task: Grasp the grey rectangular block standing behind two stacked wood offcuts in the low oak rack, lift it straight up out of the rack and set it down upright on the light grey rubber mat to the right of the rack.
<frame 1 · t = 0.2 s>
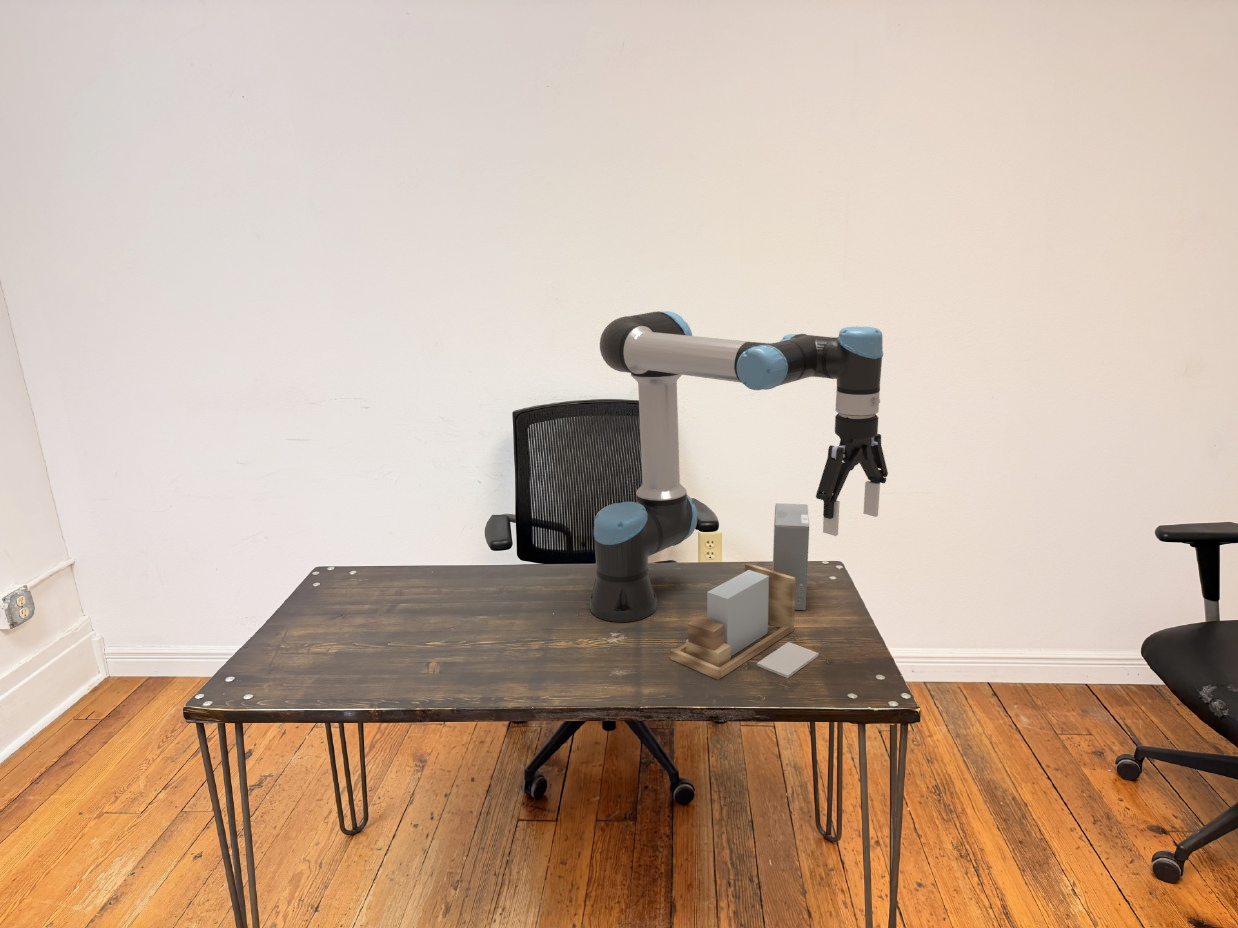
hand: (851, 524, 154), 28 cm above the table, fingers open, 13 cm apart
offcut upper: (706, 642, 161), point 4 cm above the table
rack: (733, 643, 168), on the table
grey rectangular block: (738, 641, 169), resting in rack
hard drive box: (788, 596, 189), on the table
offcut lower: (708, 661, 162), resting in rack
mat: (787, 660, 161), on the table
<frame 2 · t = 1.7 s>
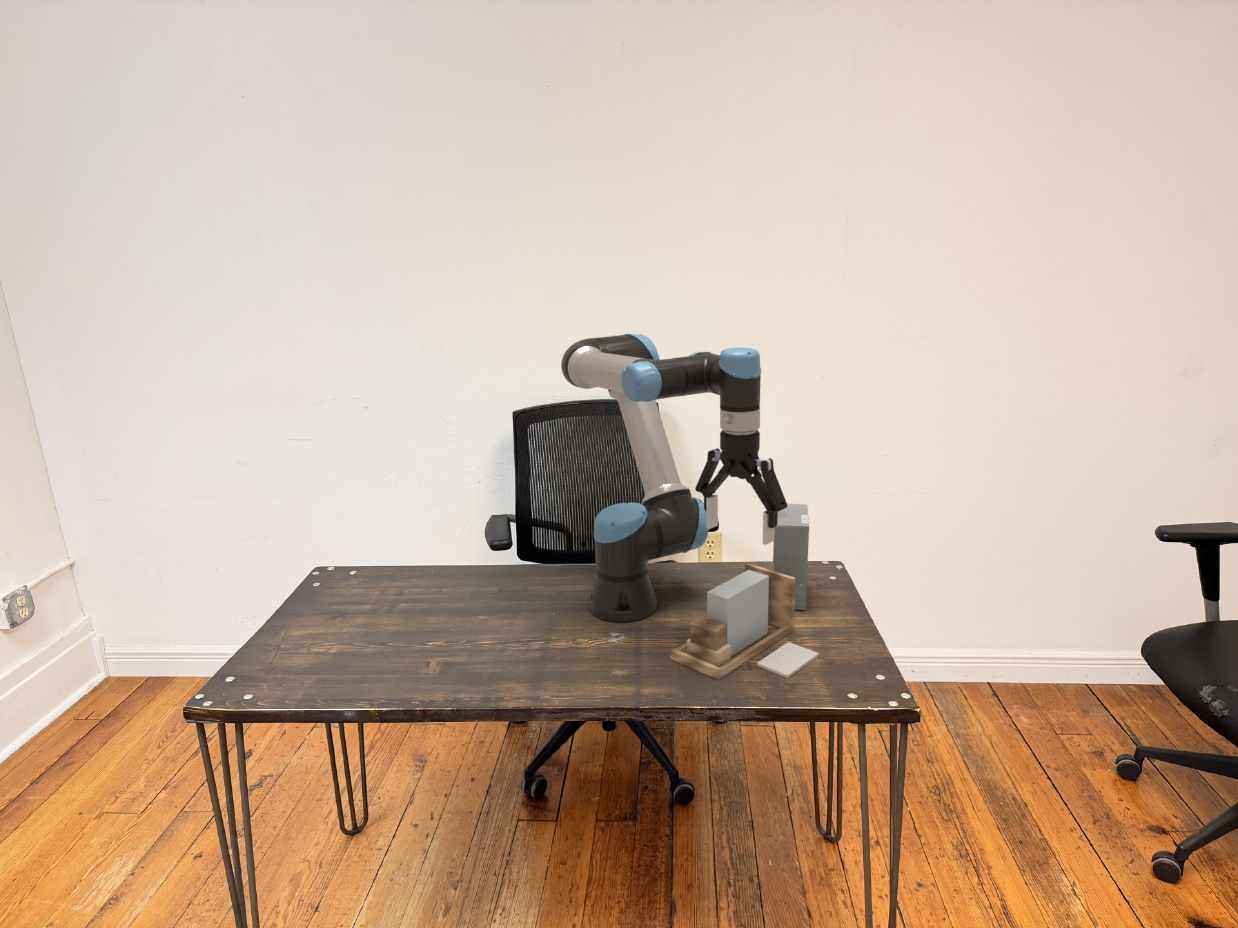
hand: (739, 534, 162), 24 cm above the table, fingers open, 13 cm apart
nothing on the table moved.
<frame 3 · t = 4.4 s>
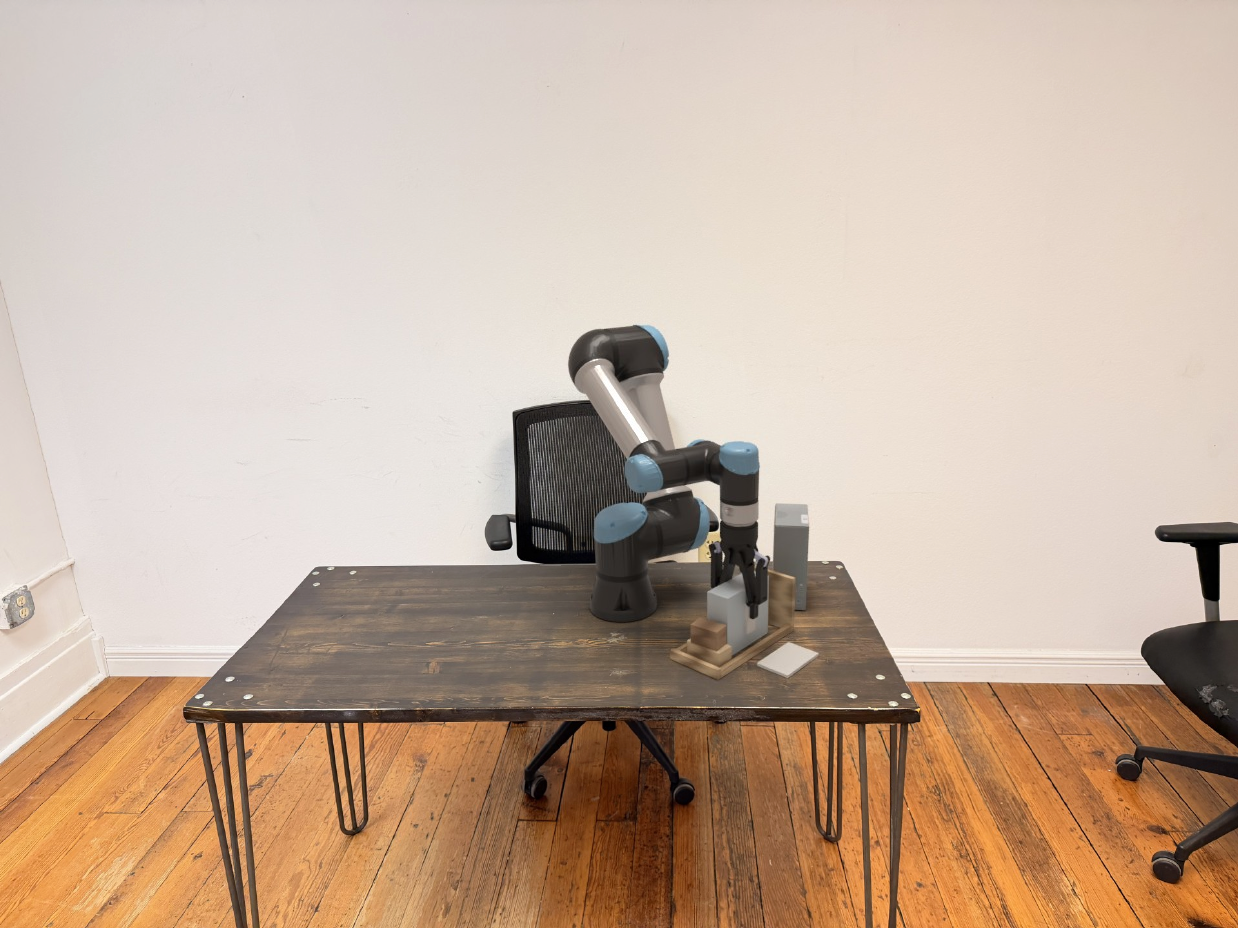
hand: (738, 626, 168), 3 cm above the table, fingers closed on grey rectangular block, 5 cm apart
offcut upper: (708, 643, 161), point 4 cm above the table, touching offcut lower
grey rectangular block: (738, 641, 169), resting in rack, touching gripper
offcut lower: (709, 661, 162), resting in rack, touching offcut upper
everything else where it was.
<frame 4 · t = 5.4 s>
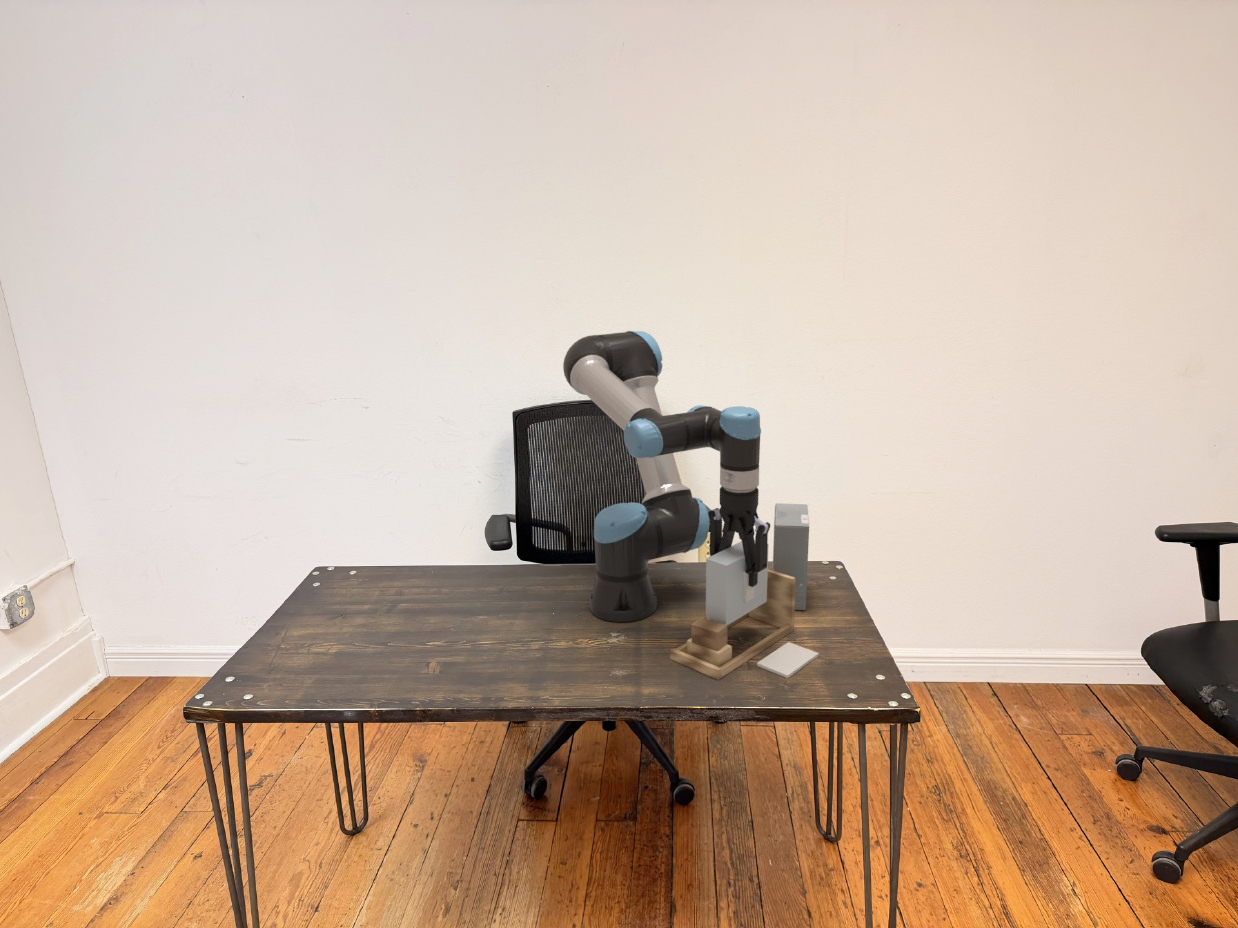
hand: (737, 594, 166), 10 cm above the table, fingers closed on grey rectangular block, 5 cm apart
grey rectangular block: (736, 609, 167), point 7 cm above the table, touching gripper
everything else where it was.
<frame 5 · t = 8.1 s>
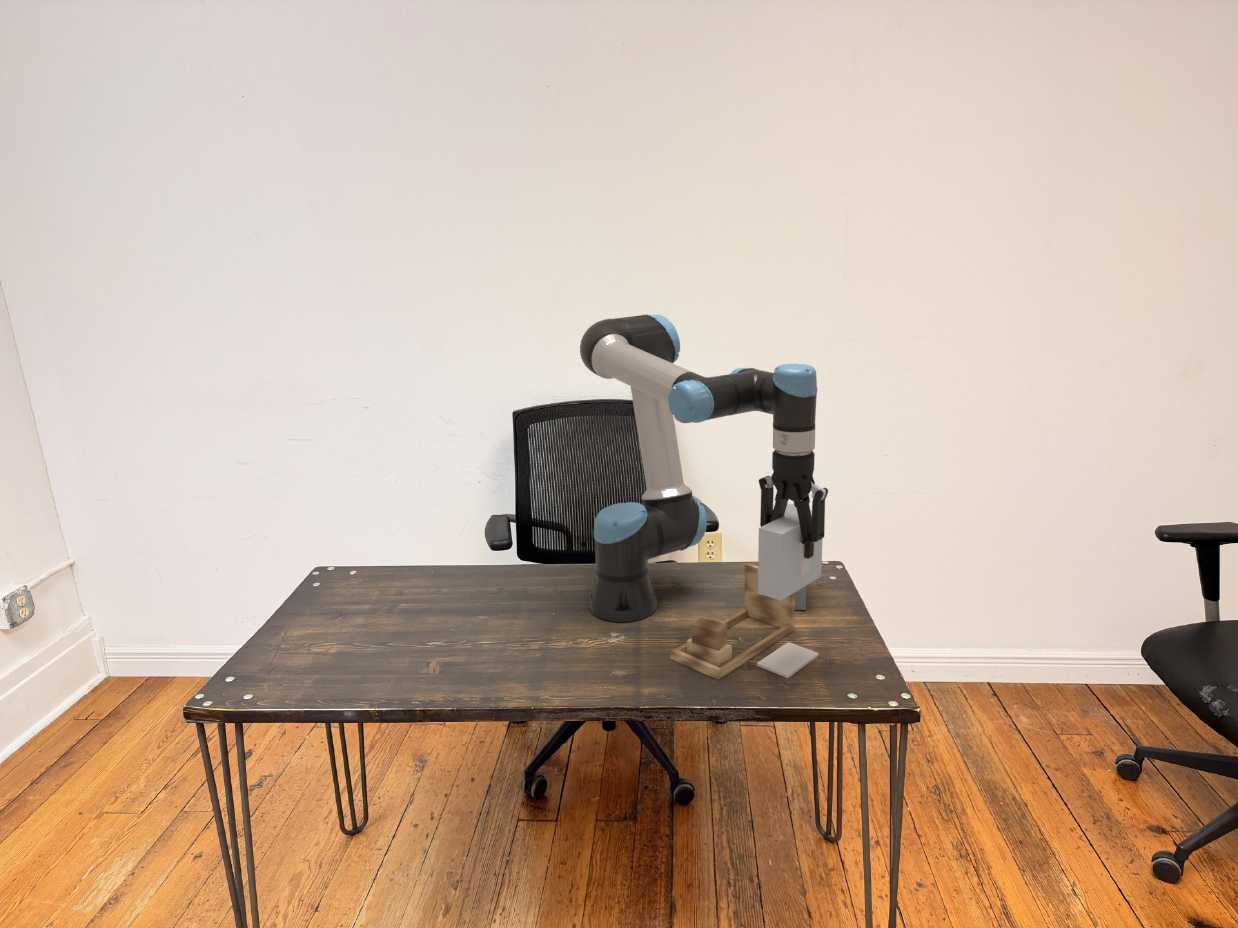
hand: (790, 568, 155), 20 cm above the table, fingers closed on grey rectangular block, 5 cm apart
grey rectangular block: (790, 584, 156), point 16 cm above the table, touching gripper
everything else where it was.
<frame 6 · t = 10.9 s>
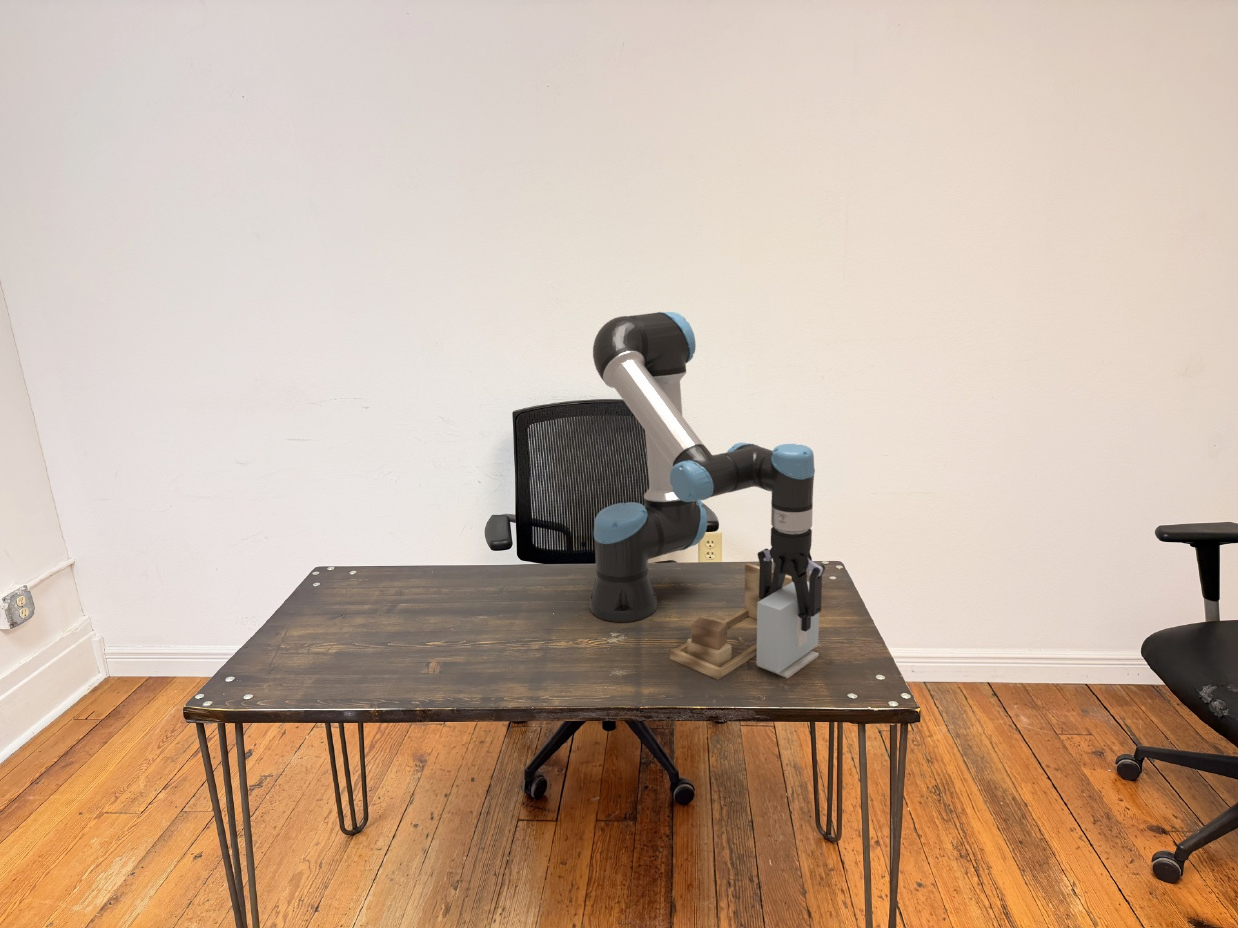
hand: (788, 639, 159), 5 cm above the table, fingers closed on grey rectangular block, 5 cm apart
grey rectangular block: (787, 654, 160), point 1 cm above the table, touching gripper
everything else where it was.
when the fingers open (5 cm above the table, at t = 11.3 s): grey rectangular block stays where it is, resting on mat.
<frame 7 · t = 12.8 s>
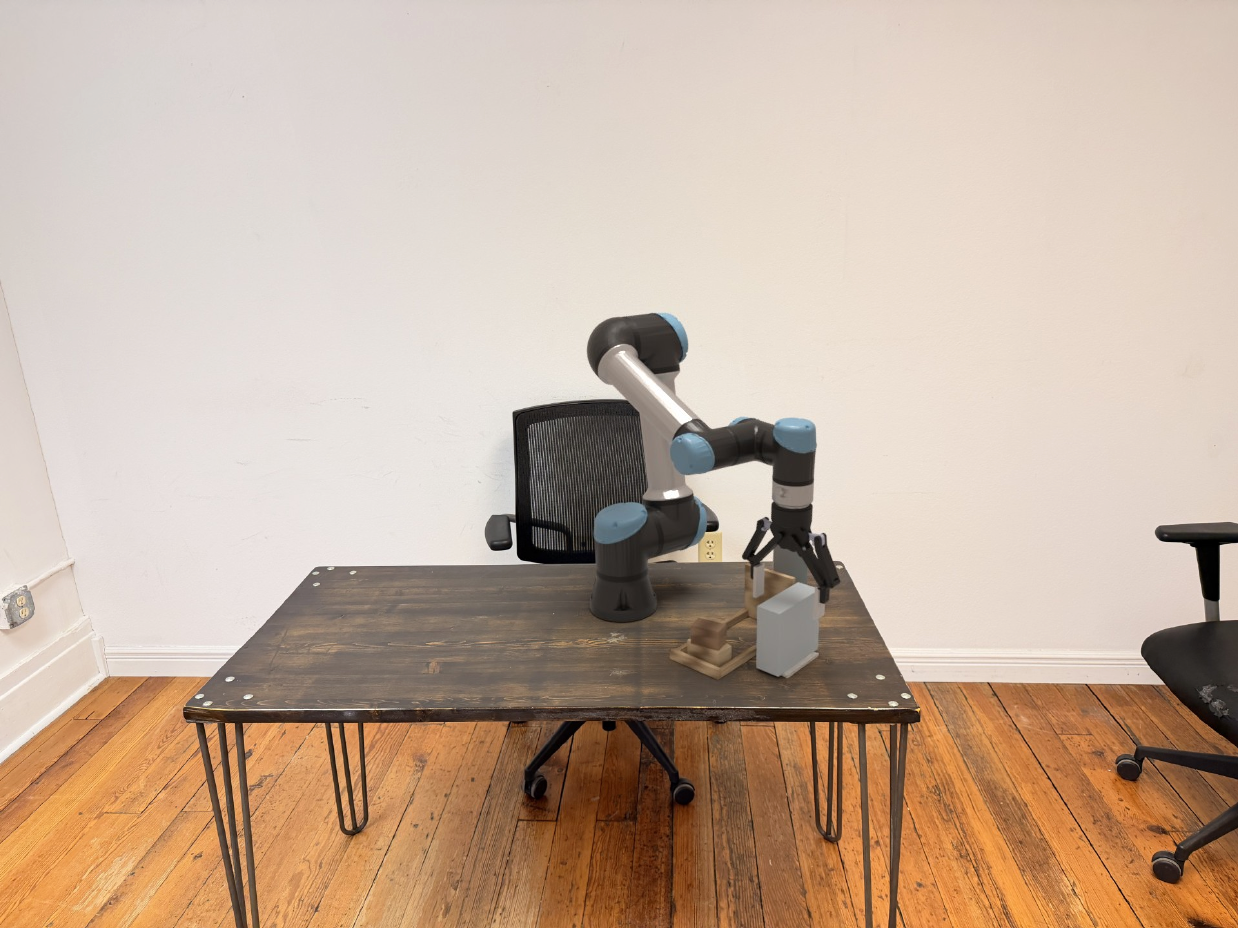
hand: (787, 605, 158), 12 cm above the table, fingers open, 13 cm apart
grey rectangular block: (787, 657, 160), point 1 cm above the table, touching mat
everything else where it was.
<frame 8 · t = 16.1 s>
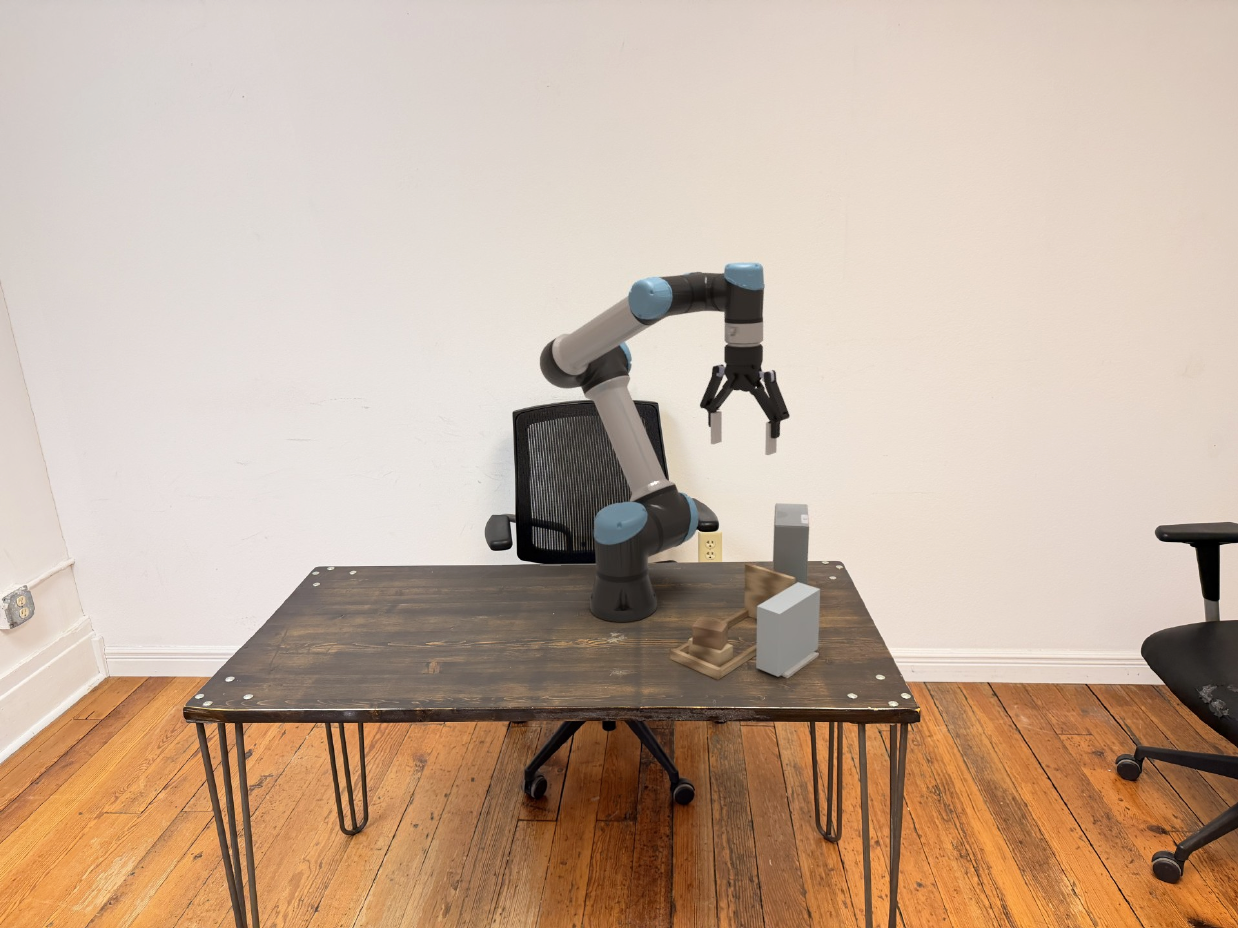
hand: (742, 448, 167), 39 cm above the table, fingers open, 13 cm apart
nothing on the table moved.
at the end: grey rectangular block inside the target area (0.4 cm from its centre), point 0.6 cm above the table; grey rectangular block tilted 0°; grey rectangular block touching mat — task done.
